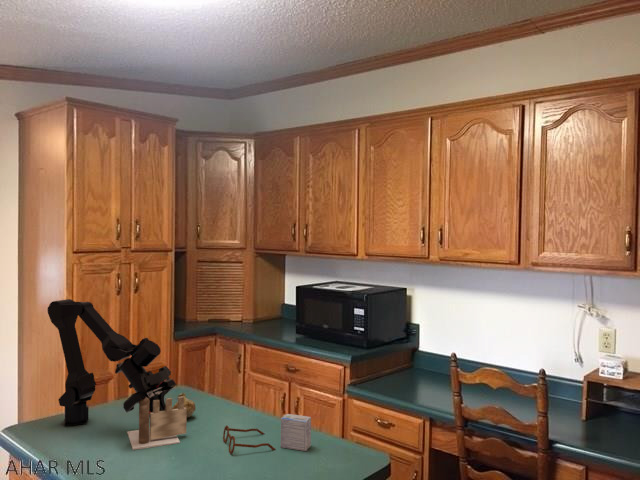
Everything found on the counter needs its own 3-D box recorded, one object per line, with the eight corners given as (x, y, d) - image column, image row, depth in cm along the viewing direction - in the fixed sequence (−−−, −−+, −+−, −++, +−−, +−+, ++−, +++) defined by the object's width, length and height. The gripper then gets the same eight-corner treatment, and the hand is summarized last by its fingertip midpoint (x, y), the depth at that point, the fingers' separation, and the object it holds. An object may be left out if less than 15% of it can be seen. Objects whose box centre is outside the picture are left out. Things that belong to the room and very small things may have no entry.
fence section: (150, 439, 160) (151, 401, 159) (149, 438, 161) (150, 400, 160) (186, 433, 165) (186, 396, 165) (185, 432, 166) (185, 395, 166)
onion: (165, 420, 178) (165, 396, 178) (180, 413, 186) (181, 389, 186) (185, 424, 176) (185, 399, 175) (199, 416, 183) (199, 392, 183)
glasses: (222, 440, 164) (222, 423, 164) (264, 435, 169) (264, 419, 169) (231, 457, 152) (231, 440, 152) (276, 451, 156) (277, 434, 156)
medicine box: (311, 446, 160) (311, 416, 160) (305, 452, 156) (306, 421, 155) (286, 442, 162) (286, 413, 162) (280, 447, 158) (280, 417, 158)
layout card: (133, 449, 154) (133, 448, 154) (127, 432, 167) (127, 431, 167) (179, 443, 160) (179, 441, 160) (171, 426, 173) (171, 425, 173)
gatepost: (139, 446, 157) (139, 399, 157) (137, 442, 160) (138, 396, 160) (149, 444, 158) (150, 397, 158) (148, 440, 161) (149, 395, 161)
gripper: (133, 366, 156) (164, 411, 153) (172, 353, 174) (201, 393, 170) (109, 389, 159) (139, 434, 155) (150, 374, 176) (178, 414, 173)
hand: (166, 417), depth 163 cm, fingers closed
